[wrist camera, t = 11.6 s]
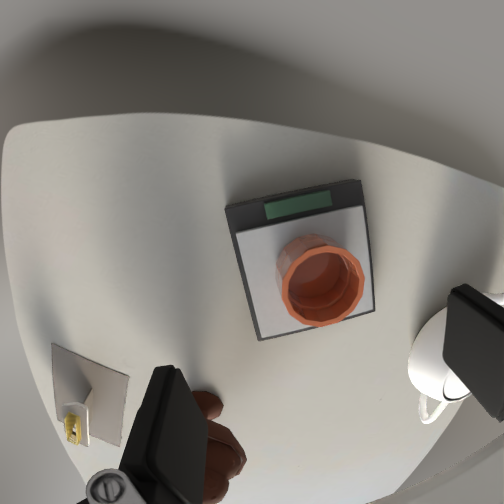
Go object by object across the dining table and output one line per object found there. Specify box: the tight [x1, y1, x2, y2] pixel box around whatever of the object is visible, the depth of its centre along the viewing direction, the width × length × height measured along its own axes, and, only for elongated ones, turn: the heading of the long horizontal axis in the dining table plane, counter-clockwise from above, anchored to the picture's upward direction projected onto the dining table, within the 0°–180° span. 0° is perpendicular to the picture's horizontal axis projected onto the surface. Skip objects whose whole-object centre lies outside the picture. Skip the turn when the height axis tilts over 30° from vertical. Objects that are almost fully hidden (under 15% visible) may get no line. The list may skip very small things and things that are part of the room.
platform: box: [52, 343, 129, 447], centre depth 32 cm, size 12×18×7 cm, turn 160°
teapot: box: [408, 293, 504, 424], centre depth 29 cm, size 22×14×11 cm, turn 163°
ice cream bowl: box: [192, 391, 247, 504], centre depth 28 cm, size 11×11×15 cm
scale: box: [225, 179, 375, 341], centre depth 29 cm, size 14×13×3 cm
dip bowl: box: [275, 233, 365, 327], centre depth 25 cm, size 7×7×5 cm
